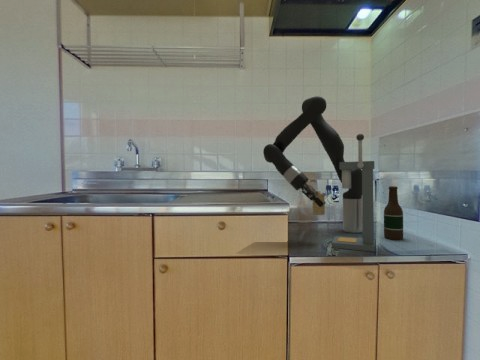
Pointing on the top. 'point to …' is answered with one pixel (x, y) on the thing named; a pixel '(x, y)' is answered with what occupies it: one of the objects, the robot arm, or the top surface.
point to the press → (367, 203)
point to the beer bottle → (393, 217)
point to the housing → (316, 208)
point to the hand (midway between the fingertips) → (323, 205)
